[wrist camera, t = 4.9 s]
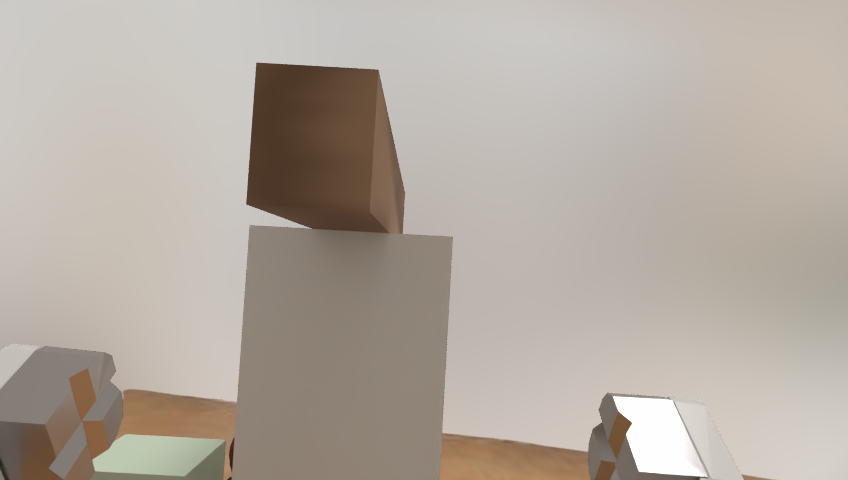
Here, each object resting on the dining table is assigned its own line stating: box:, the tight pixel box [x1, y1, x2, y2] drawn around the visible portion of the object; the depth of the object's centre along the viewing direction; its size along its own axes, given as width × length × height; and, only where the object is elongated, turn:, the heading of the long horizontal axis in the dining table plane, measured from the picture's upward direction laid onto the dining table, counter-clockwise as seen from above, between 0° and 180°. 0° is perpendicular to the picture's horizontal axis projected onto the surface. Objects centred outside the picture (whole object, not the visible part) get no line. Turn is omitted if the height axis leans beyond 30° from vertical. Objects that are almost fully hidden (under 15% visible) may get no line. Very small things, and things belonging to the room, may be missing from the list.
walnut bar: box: [246, 63, 405, 234], centre depth 27 cm, size 3×24×4 cm, turn 0°
